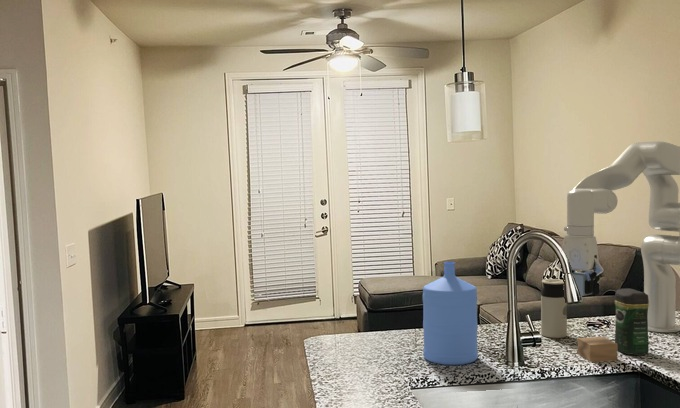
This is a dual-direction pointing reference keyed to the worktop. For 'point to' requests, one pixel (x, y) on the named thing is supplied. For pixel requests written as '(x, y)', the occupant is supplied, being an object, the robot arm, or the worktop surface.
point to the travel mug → (553, 309)
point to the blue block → (580, 282)
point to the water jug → (450, 320)
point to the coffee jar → (631, 321)
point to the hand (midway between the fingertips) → (580, 291)
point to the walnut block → (597, 349)
